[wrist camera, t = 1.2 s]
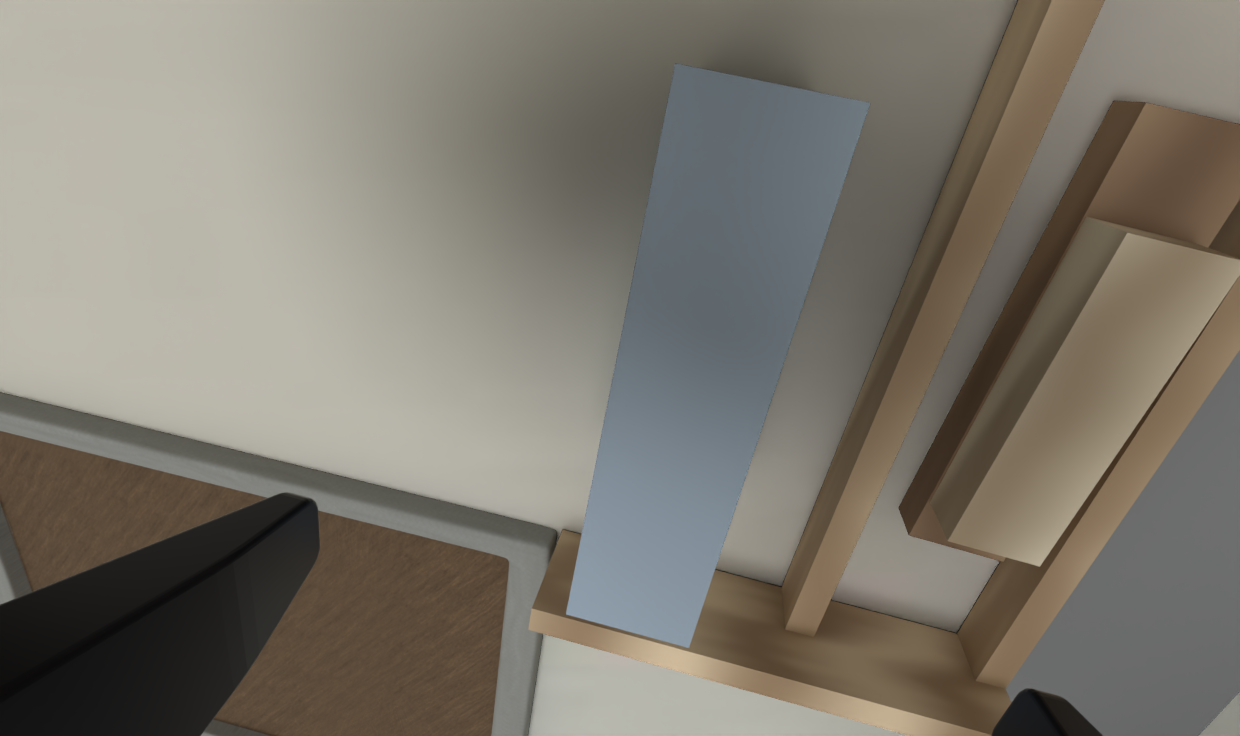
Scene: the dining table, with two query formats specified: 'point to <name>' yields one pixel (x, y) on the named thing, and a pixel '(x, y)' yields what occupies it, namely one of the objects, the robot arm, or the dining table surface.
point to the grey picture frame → (332, 592)
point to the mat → (1159, 595)
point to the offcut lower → (1101, 189)
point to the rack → (891, 394)
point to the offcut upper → (1078, 385)
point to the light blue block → (705, 337)
